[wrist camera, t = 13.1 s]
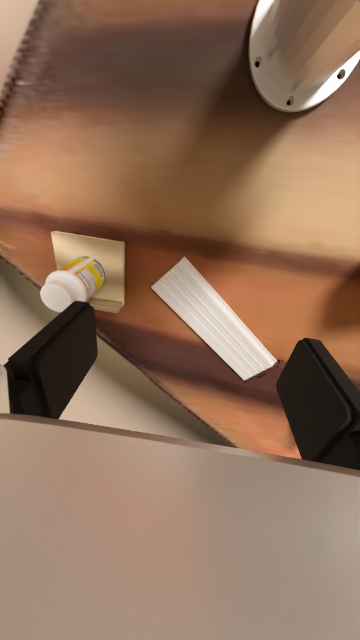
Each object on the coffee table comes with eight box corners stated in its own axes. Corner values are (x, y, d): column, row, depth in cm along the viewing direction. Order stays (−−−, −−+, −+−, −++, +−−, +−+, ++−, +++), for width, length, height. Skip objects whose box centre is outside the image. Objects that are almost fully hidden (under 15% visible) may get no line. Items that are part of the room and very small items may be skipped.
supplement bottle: (70, 277, 37) (29, 304, 28) (79, 248, 34) (37, 268, 26) (101, 293, 38) (70, 324, 29) (112, 266, 36) (82, 292, 27)
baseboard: (191, 249, 38) (152, 284, 42) (190, 253, 36) (148, 290, 40) (282, 355, 48) (243, 376, 52) (286, 364, 46) (245, 385, 50)
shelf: (67, 227, 38) (41, 235, 32) (130, 237, 38) (116, 247, 31) (74, 287, 43) (53, 303, 37) (129, 295, 43) (117, 313, 37)
